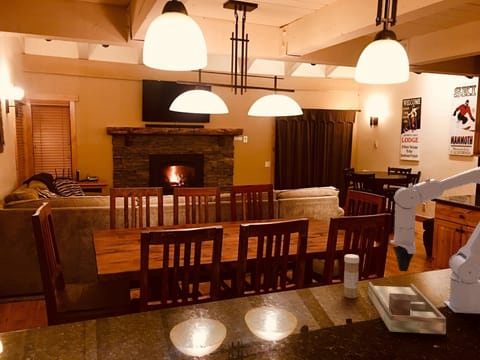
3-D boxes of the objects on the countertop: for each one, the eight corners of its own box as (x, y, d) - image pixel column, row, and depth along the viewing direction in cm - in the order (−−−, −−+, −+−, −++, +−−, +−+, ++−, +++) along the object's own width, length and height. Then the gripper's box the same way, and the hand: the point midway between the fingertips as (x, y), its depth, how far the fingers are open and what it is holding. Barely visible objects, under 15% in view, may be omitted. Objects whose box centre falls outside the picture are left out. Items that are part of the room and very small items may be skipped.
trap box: (412, 296, 128) (412, 283, 127) (445, 334, 102) (446, 318, 102) (368, 294, 129) (368, 282, 129) (389, 331, 104) (390, 315, 103)
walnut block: (405, 309, 110) (406, 293, 110) (410, 316, 106) (410, 300, 105) (388, 308, 111) (389, 293, 110) (392, 315, 106) (393, 299, 106)
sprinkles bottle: (351, 292, 131) (352, 253, 130) (361, 297, 127) (362, 256, 126) (340, 294, 129) (341, 254, 128) (349, 299, 125) (351, 258, 124)
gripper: (384, 222, 128) (383, 263, 129) (398, 232, 114) (397, 277, 115) (406, 222, 127) (405, 263, 129) (423, 232, 113) (422, 278, 114)
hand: (403, 270), depth 122 cm, fingers closed
